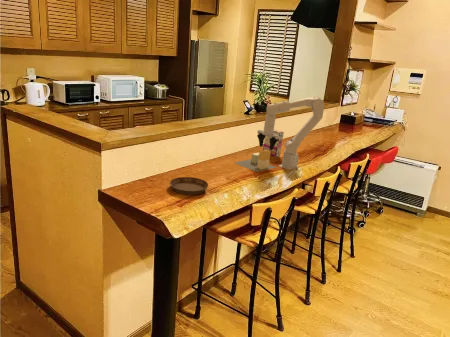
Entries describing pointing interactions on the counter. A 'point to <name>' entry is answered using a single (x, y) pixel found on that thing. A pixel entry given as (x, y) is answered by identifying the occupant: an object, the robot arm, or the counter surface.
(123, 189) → the counter surface
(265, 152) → the mustard block
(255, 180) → the counter surface
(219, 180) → the counter surface
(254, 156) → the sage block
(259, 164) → the cream block
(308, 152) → the counter surface
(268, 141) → the candy bar box
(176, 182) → the plant saucer
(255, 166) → the rubber mat
